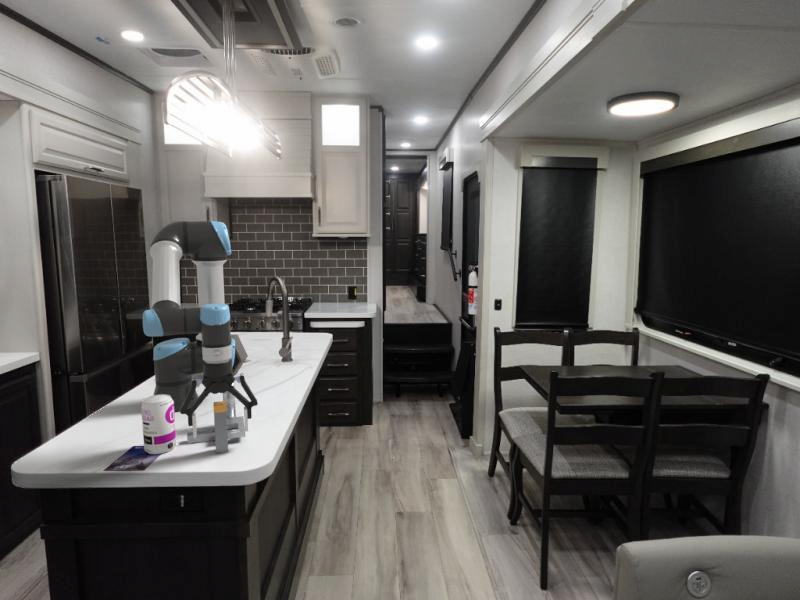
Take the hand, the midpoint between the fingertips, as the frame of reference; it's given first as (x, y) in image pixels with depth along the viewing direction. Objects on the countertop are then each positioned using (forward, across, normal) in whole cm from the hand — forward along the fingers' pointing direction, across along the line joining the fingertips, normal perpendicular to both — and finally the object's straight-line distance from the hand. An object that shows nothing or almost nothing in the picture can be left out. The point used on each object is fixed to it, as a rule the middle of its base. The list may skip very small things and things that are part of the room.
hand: (221, 432), depth 136 cm
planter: (+5, 0, +72) cm, 72 cm away
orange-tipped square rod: (+5, 0, 0) cm, 5 cm away
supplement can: (+6, -16, +7) cm, 19 cm away
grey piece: (+5, -2, +12) cm, 14 cm away
